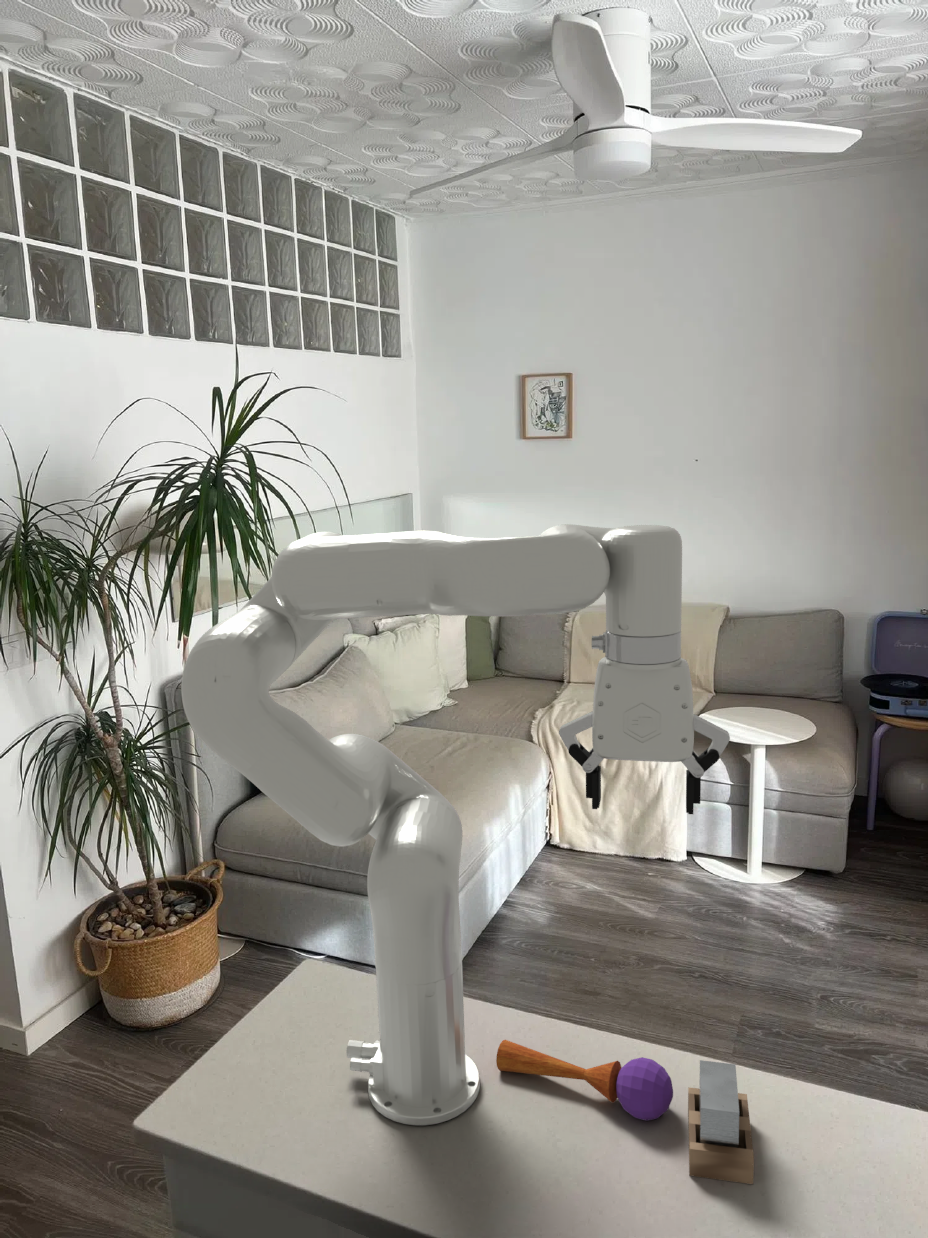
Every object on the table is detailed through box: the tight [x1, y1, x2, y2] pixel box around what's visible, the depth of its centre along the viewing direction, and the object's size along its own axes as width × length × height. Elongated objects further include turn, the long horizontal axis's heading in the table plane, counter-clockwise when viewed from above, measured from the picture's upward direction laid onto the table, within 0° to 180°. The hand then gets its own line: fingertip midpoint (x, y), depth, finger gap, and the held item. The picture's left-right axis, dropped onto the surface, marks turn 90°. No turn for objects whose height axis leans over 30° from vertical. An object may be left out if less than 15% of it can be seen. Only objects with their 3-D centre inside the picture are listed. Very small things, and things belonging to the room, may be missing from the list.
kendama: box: [495, 1039, 674, 1122], centre depth 104 cm, size 6×6×20 cm
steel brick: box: [698, 1060, 739, 1148], centre depth 95 cm, size 4×7×7 cm, turn 167°
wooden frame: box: [687, 1086, 755, 1185], centre depth 95 cm, size 6×9×3 cm, turn 168°
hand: (642, 807), depth 98 cm, fingers open, 9 cm apart
